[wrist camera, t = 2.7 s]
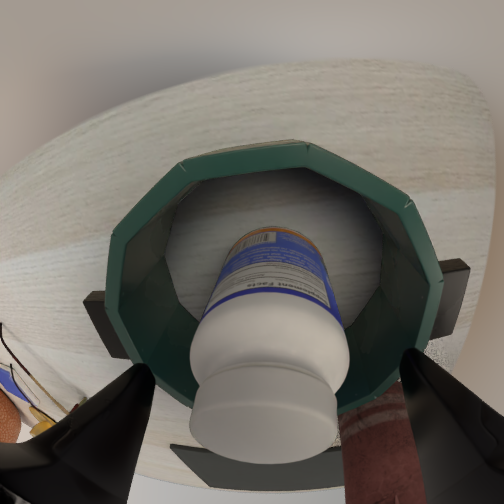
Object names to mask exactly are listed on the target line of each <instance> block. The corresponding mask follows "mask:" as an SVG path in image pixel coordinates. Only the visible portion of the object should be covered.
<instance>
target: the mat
mask: <svg viewBox="0 0 504 504" xmlns="http://www.w3.org/2000/svg"><path fill="white" fill-rule="evenodd" d="M170 449H171V450H172V451H173V452H174V453H175V454H176V455H177V456H178V457H179V458H180V459H181V460H182V461H183V462H184V463H185V464H186V465H187V466H188V467H189V468H190V469H191V470H192V471H193V472H194V473H195V474H196V475H197V476H198V477H199V478H201V479H202V480H203V481H204V482H205V483H206V484H207V485H208V486H209V487H214V488H223V489H234V490H249V491H295V490H310V489H321V488H330V487H338V486H344V472H343V460H342V450H341V447H334V448H328V449H326V450H325V451H323V452H322V453H320V454H318V455H315V456H313V457H310V458H308V459H304V460H301V461H296V462H290V463H280V464H256V463H249V462H243V461H238V460H234V459H230V458H227V457H224V456H221V455H219V454H216V453H214V452H212V451H210V450H208V449H202V448H194V447H186V446H180V445H173V444H170Z"/></svg>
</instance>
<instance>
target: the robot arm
mask: <svg viewBox="0 0 504 504" xmlns="http://www.w3.org/2000/svg"><path fill="white" fill-rule="evenodd" d="M399 373H400V378H401V383H402V388H403V394H404V400H405V406H406V410H407V414H408V418H409V421H410V425H411V429H412V433H413V437H414V441H415V445H416V449H417V454H418V458H419V463H420V468H421V473H422V478H423V483H424V489H425V496H426V501H427V502H426V503H427V504H504V417H503V416H502V415H500V414H499V413H498V412H496V411H495V410H494V409H492V408H491V407H490V406H489V405H487V404H486V403H485V402H484V401H482V400H481V399H480V398H479V397H478V396H477V395H475V394H474V393H473V392H472V391H470V390H469V389H468V388H467V387H465V386H464V385H463V384H462V383H461V382H459V381H458V380H457V379H456V378H454V377H453V376H452V375H451V374H449V373H448V372H447V371H445V370H444V369H443V368H442V367H440V366H439V365H438V364H437V363H435V362H434V361H433V360H432V359H430V358H429V357H428V356H426V355H425V354H424V353H423V352H421V351H420V350H419V349H417V348H415V347H412V348H408V349H405V350H404V352H403V355H402V358H401V361H400V365H399ZM155 385H156V379H155V376H154V375H153V373H152V371H151V369H150V367H149V366H148V365H147V364H146V363H136V364H134V365H133V366H132V367H130V368H129V369H128V370H127V371H125V372H124V373H123V374H121V375H120V376H119V377H118V378H116V379H115V380H114V381H112V382H111V383H110V384H108V385H107V386H106V387H104V388H103V389H102V390H101V391H99V392H98V393H97V394H95V395H94V396H93V397H91V398H90V399H89V400H87V401H86V402H85V403H83V404H82V405H81V406H79V407H78V408H77V409H76V410H74V411H73V412H72V413H70V414H69V415H67V416H66V417H65V418H63V419H62V420H61V421H59V422H58V423H56V424H55V425H53V426H52V427H50V428H48V429H47V430H45V431H43V432H42V433H40V434H38V435H37V436H35V437H33V438H32V439H30V440H28V441H26V442H23V443H5V442H0V504H127V500H128V496H129V491H130V487H131V483H132V479H133V475H134V471H135V467H136V464H137V460H138V456H139V452H140V449H141V445H142V441H143V438H144V434H145V431H146V427H147V424H148V420H149V417H150V412H151V406H152V401H153V395H154V390H155Z"/></svg>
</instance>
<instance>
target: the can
mask: <svg viewBox="0 0 504 504" xmlns="http://www.w3.org/2000/svg"><path fill="white" fill-rule="evenodd" d="M338 423H339V431H340V440H341V450H342V460H343V472H344V485H345V500H346V504H427V503H426V502H427V501H426V496H425V489H424V483H423V478H422V473H421V468H420V463H419V458H418V454H417V449H416V445H415V441H414V437H413V433H412V429H411V425H410V421H409V418H408V414H407V410H406V406H405V400H404V394H403V388H402V383H400V382H399V381H396V382H395V383H394V384H393V385H392V386H391V387H389V388H388V389H387V390H386V391H385V392H384V393H383V394H382V395H381V396H380V397H377V398H376V399H375V400H373V401H371V402H368V403H366V404H364V405H362V406H359V407H357V408H355V409H353V410H350V411H348V412H345V413H343V414H340V415H338Z"/></svg>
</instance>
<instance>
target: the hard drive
mask: <svg viewBox="0 0 504 504" xmlns="http://www.w3.org/2000/svg"><path fill="white" fill-rule="evenodd" d="M12 370H13V375H14V379H15V382H16V384H17V385H18V387H19V388H20V389H21V391H22V392H23V393H24V394H25V396H26V397H27V398H28V399H29V400H30V401H31V402H32V404H33V405H34V406H36V407H37V406H38V404H39V400H38V399H37V398H36V396H35V395H34V394H33V393H32V392H31V391H30V389H29V388H28V387H27V386H26V384H25V383H24V382H23V381H22V379H21V378H20V377H19V375H18V374H17V373H16V371H15V370H14V369H12ZM0 383H1V384H2V385H3V386H4V388H5V389H6V390H7V391H8V392H10V393H12V394H14V395H15V396H17V397H19V398H21V399H23V400H24V401H26V402H28V401H27V399H26V398H25V397H24V396H23V395H22V393H21V392H20V391H19V390H18V388H17V387H16V385H15V384H14V381H13V379H12V374H11V368H9V367H7V366H5V365H2V364H0ZM28 403H29V402H28Z"/></svg>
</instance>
